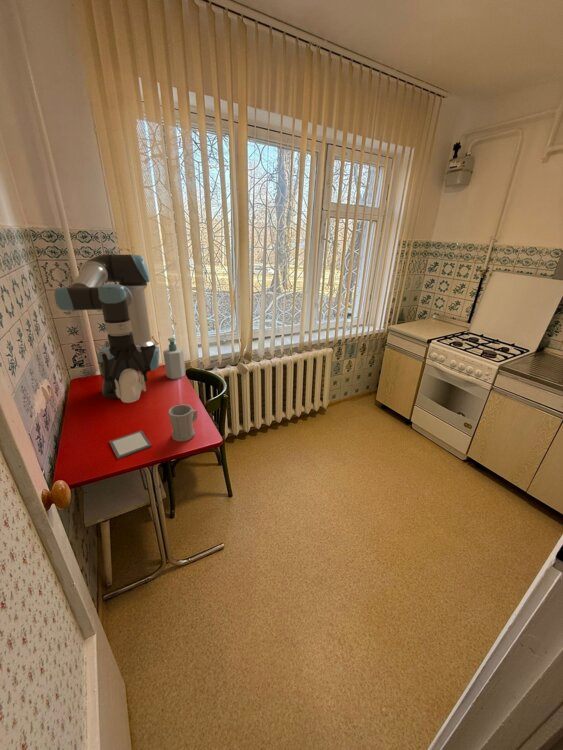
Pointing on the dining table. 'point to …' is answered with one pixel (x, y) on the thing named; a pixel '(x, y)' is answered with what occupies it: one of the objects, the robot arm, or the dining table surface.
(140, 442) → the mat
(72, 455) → the dining table surface
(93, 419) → the dining table surface
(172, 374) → the soap bottle
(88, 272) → the robot arm
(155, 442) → the dining table surface
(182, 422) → the cup
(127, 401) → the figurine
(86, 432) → the dining table surface
